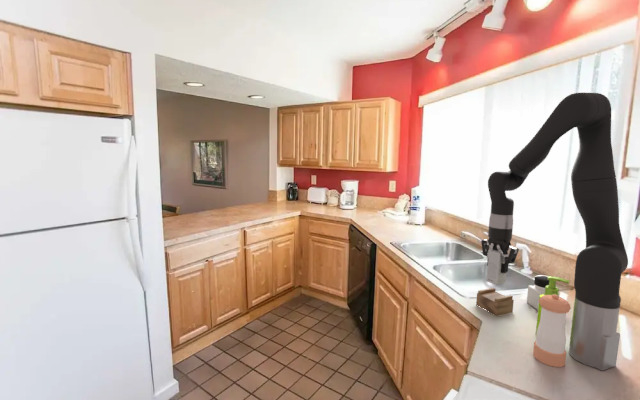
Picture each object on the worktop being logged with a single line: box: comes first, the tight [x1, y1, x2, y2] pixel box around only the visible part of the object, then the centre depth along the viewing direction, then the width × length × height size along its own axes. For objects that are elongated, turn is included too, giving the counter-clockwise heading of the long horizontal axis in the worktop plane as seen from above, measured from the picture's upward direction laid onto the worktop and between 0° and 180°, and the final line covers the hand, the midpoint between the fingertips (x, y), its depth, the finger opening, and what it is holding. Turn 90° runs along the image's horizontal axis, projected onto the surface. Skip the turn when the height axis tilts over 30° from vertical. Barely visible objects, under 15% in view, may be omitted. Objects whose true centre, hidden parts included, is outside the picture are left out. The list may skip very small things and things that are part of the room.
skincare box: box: [486, 250, 507, 286], centre depth 113 cm, size 6×4×12 cm
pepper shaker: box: [532, 294, 572, 368], centre depth 85 cm, size 7×7×19 cm
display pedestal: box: [475, 287, 514, 317], centre depth 115 cm, size 9×8×6 cm
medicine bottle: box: [526, 274, 560, 311], centre depth 116 cm, size 7×7×12 cm
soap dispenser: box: [535, 275, 570, 334], centre depth 95 cm, size 6×7×20 cm
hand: (496, 270), depth 113 cm, fingers closed on skincare box, 5 cm apart
